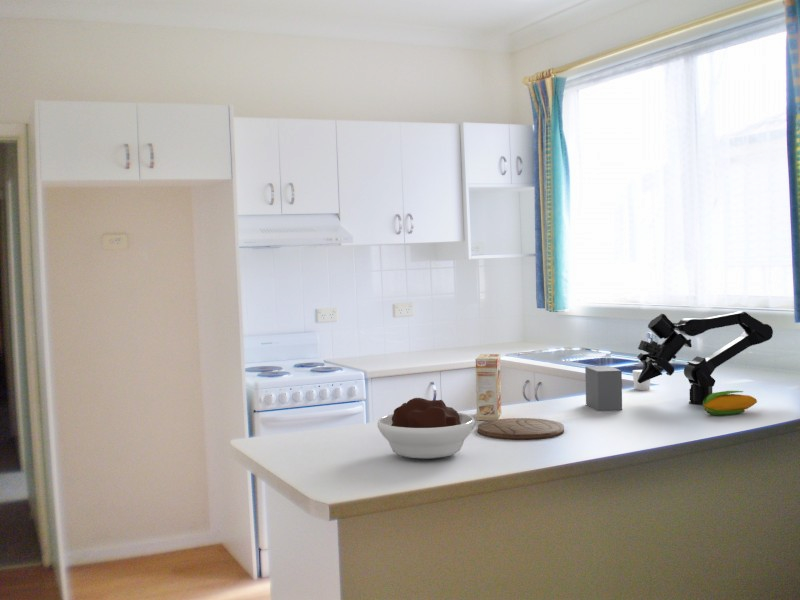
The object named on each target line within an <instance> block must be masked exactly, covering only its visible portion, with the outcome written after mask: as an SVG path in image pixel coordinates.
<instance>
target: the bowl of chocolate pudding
mask: <svg viewBox="0 0 800 600" xmlns="http://www.w3.org/2000/svg"><path fill="white" fill-rule="evenodd" d="M377 420H378V421H377V428H378V430H379V432H380V434H381V435H382V436H383V437H384V439H386V441H387V442H388V444H389V446H390V449H391V450H392V452H393V453H395V454H396V455H398V456H400V457H405V458H411V459H416V460H434V459H439V458H446V457H449V456H453V455H455V454H457V453H459V452H460V451H461V449H462V447H463V445H464V442H465V440H466V439H467V437H469V436H470V434H471V433H472V431H473V429H474V427H475V423H476V422H475V418H474V417H473V416H472V415H470V414H467V413H463V412H458V411H457V410H456V409H454V408H453V407H450V406H447V405H446V403H445V402H444V400H443V399H434V400H430V399H425V398H423V397H414V398H411V399H409V400H408V401H407V402H403V403H402V404H401V405H400V406H397V407H396V408H395V409H394V410H393V413H391V414H388V415H385V416H382V417H380V418H379V419H377Z"/></svg>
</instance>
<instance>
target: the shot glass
mask: <svg viewBox="0 0 800 600" xmlns="http://www.w3.org/2000/svg"><path fill="white" fill-rule="evenodd" d="M642 370H643V369H632V378H633V387H634V390H641V391H647V390H650V389H651V388H650V387H651V379H649V380H647V381H645V382H642V383H639V382H638V381H637V380H638V378H639V376H640V374H641V372H642Z"/></svg>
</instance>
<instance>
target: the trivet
mask: <svg viewBox="0 0 800 600" xmlns="http://www.w3.org/2000/svg"><path fill="white" fill-rule="evenodd" d="M477 433H478V434H479V435H480V436H483V437H487V438H491V439H497V440H504V441H505V440H506V441H507V440H508V441H536V440H537V441H538V440H546V439H552V438H556V437H559V436H561V435H563V434H564V433H565V426H564V424H562V422H558V421H554V420H550V419H543V418H532V417H531V418H529V417H528V418H527V417H510V418H509V417H508V418H499V419H496V420H490V421H489V420H485V421H483V422H480V423H479V424H478V425H477Z"/></svg>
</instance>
